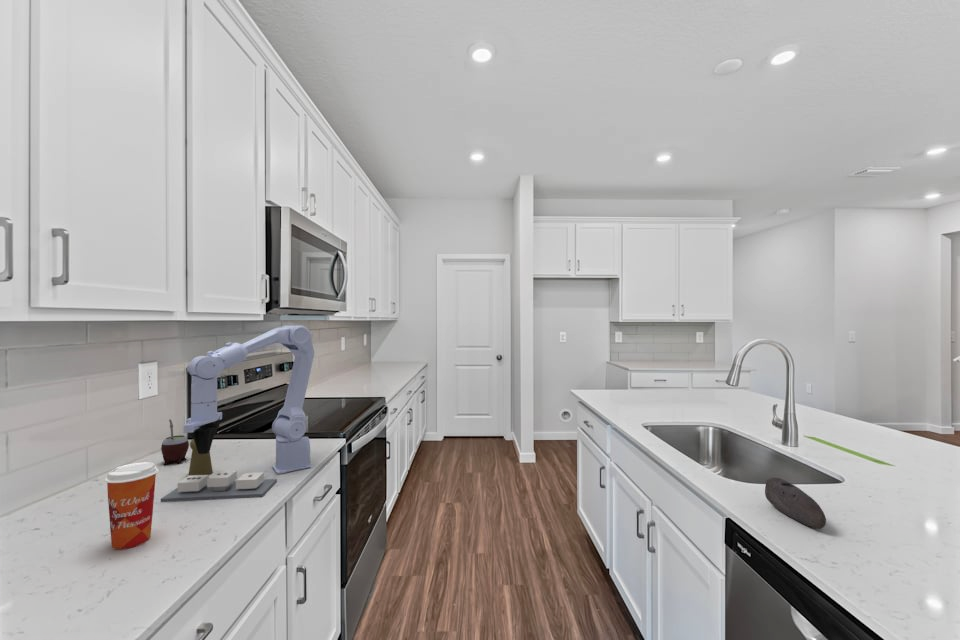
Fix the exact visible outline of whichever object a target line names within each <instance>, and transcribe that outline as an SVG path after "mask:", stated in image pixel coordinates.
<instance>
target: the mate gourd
mask: <svg viewBox="0 0 960 640" xmlns="http://www.w3.org/2000/svg"><path fill="white" fill-rule="evenodd" d="M168 421H169V429H170V436H168V437H166V438H164V440H163V441H162V442H161V445H160V446H161V448H160V450H161V455H162V459H163V461H164V463H163V466H169V465H172V464H176V463H177V465H181V464H183V461H186V460H187V458H186V455H187V453H188V451H189V447H190V443H189V439H188V438H187V437H186V435H184V434H183V435H181V434H179V435H174V424H173V422H172V419H171V418H170V419H168Z"/></svg>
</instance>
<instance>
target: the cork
mask: <svg viewBox="0 0 960 640" xmlns="http://www.w3.org/2000/svg"><path fill="white" fill-rule="evenodd" d="M189 447H190V449H191V450H192V451H191V454H190V455H191V457H190V462H189V468H188V469H189V470H188V475H187V477H188V476H192V475H209V476H211V475H213V474H214V473H213V472H214V471H213V465H212V457H211V452H210V451H211V450H210V451H209V453H207V454H198V451H197V447H196V444H195V441H194V439H193V438H192V439H191V440H190V443H189Z"/></svg>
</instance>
